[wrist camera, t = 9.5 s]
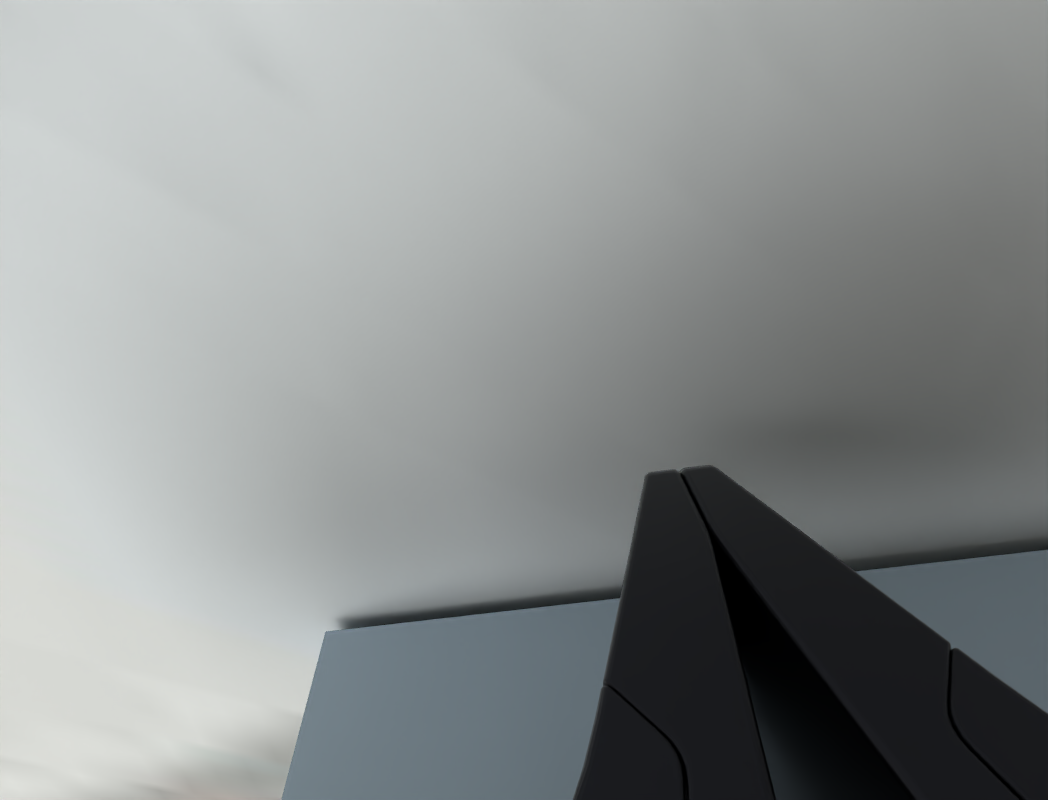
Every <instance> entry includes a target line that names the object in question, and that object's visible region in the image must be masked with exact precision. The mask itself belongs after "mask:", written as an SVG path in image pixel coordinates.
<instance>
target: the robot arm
mask: <svg viewBox="0 0 1048 800" xmlns="http://www.w3.org/2000/svg"><path fill="white" fill-rule="evenodd" d="M573 800H1048V713H1047V712H1045V711H1044V710H1042V709H1041V708H1040V707H1038V706H1037V705H1036V704H1034V703H1033V702H1031V701H1030V700H1029V699H1027V698H1026V697H1024V696H1023V695H1022V694H1020V693H1019V692H1017V691H1016V690H1015V689H1013V688H1012V687H1010V686H1009V685H1008V684H1006V683H1005V682H1003V681H1002V680H1001V679H999V678H998V677H996V676H995V675H994V674H992V673H991V672H990V671H988V670H987V669H986V668H984V667H983V666H982V665H980V664H979V663H978V662H976V661H975V660H974V659H972V658H971V657H970V656H968V655H967V654H965V653H964V652H963V651H961V650H960V649H959V648H952V649H951V644H950V642H949V641H948V640H946V639H945V638H944V637H942V636H941V635H940V634H938V633H937V632H936V631H934V630H933V629H932V628H930V627H929V626H928V625H926V624H925V623H924V622H922V621H921V620H920V619H918V618H917V617H916V616H914V615H913V614H911V613H910V612H909V611H907V610H906V609H905V608H903V607H902V606H901V605H899V604H898V603H897V602H895V601H894V600H893V599H891V598H890V597H889V596H887V595H886V594H885V593H883V592H882V591H881V590H879V589H878V588H877V587H875V586H874V585H873V584H871V583H870V582H869V581H867V580H866V579H865V578H863V577H862V576H861V575H859V574H858V573H857V572H855V571H854V570H853V569H851V568H850V567H849V566H847V565H846V564H845V563H843V562H842V561H841V560H839V559H838V558H837V557H835V556H834V555H833V554H831V553H830V552H829V551H827V550H826V549H825V548H823V547H822V546H820V545H819V544H818V543H816V542H815V541H814V540H812V539H811V538H810V537H808V536H807V535H806V534H804V533H803V532H802V531H800V530H799V529H798V528H796V527H795V526H794V525H792V524H791V523H790V522H788V521H787V520H786V519H784V518H783V517H782V516H780V515H779V514H778V513H776V512H775V511H774V510H772V509H771V508H770V507H768V506H767V505H766V504H764V503H763V502H762V501H760V500H759V499H758V498H756V497H755V496H754V495H752V494H751V493H750V492H748V491H747V490H746V489H744V488H743V487H742V486H740V485H739V484H738V483H736V482H735V481H734V480H732V479H731V478H730V477H728V476H727V475H725V474H724V473H723V472H721V471H720V470H719V469H717V468H716V467H714V466H711V465H705V466H697V467H688V468H683V469H682V470H681V471H680V473H679V471H677V470H674V469H672V470H663V471H655V472H649V473H647V474H646V476H645V479H644V484H643V489H642V494H641V499H640V504H639V508H638V513H637V518H636V523H635V528H634V533H633V538H632V542H631V547H630V552H629V557H628V562H627V567H626V572H625V577H624V581H623V586H622V591H621V596H620V601H619V606H618V611H617V615H616V620H615V625H614V630H613V635H612V640H611V645H610V649H609V654H608V659H607V664H606V669H605V674H604V679H603V687H602V688H601V691H600V696H599V701H598V706H597V711H596V715H595V720H594V724H593V728H592V732H591V736H590V740H589V744H588V749H587V753H586V757H585V761H584V765H583V768H582V772H581V775H580V778H579V781H578V784H577V787H576V790H575V794H574V797H573Z"/></svg>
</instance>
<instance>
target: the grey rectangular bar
mask: <svg viewBox="0 0 1048 800" xmlns="http://www.w3.org/2000/svg"><path fill="white" fill-rule="evenodd" d="M855 572H857V573H858V574H859V575H861V576H862V577H863V578H865V579H866V580H867V581H869V582H870V583H871V584H873V585H874V586H875V587H877V588H878V589H879V590H881V591H882V592H883V593H885V594H886V595H887V596H889V597H890V598H891V599H893V600H894V601H895V602H897V603H898V604H899V605H901V606H902V607H903V608H905V609H906V610H907V611H909V612H910V613H911V614H913V615H914V616H916V617H917V618H918V619H920V620H921V621H922V622H924V623H925V624H926V625H928V626H929V627H930V628H932V629H933V630H934V631H936V632H937V633H938V634H940V635H941V636H942V637H944V638H945V639H946V640H948V641H949V642H950V644H951V649H952V648H959V649H960V650H961V651H963V652H964V653H965V654H967V655H968V656H970V657H971V658H972V659H974V660H975V661H976V662H978V663H979V664H980V665H982V666H983V667H984V668H986V669H987V670H988V671H990V672H991V673H992V674H994V675H995V676H996V677H998V678H999V679H1001V680H1002V681H1003V682H1005V683H1006V684H1008V685H1009V686H1010V687H1012V688H1013V689H1015V690H1016V691H1017V692H1019V693H1020V694H1022V695H1023V696H1024V697H1026V698H1027V699H1029V700H1030V701H1031V702H1033V703H1034V704H1036V705H1037V706H1038V707H1040V708H1041V709H1042V710H1044V711H1045V712H1047V713H1048V550H1040V551H1032V552H1023V553H1014V554H1005V555H996V556H987V557H979V558H970V559H961V560H952V561H943V562H935V563H926V564H917V565H908V566H899V567H891V568H882V569H873V570H864V571H855ZM619 601H620V598H617V599H608V600H600V601H591V602H582V603H573V604H564V605H556V606H547V607H538V608H529V609H520V610H512V611H503V612H494V613H485V614H476V615H467V616H459V617H450V618H441V619H432V620H423V621H415V622H406V623H397V624H388V625H379V626H371V627H362V628H353V629H344V630H335V631H326V632H325V636H324V640H323V643H322V647H321V651H320V655H319V659H318V662H317V666H316V670H315V674H314V678H313V682H312V685H311V689H310V693H309V697H308V701H307V704H306V708H305V712H304V716H303V720H302V723H301V727H300V731H299V735H298V739H297V742H296V746H295V750H294V754H293V758H292V762H291V765H290V769H289V773H288V777H287V781H286V784H285V788H284V792H283V796H282V800H573V797H574V794H575V790H576V787H577V784H578V781H579V778H580V775H581V772H582V768H583V765H584V761H585V757H586V753H587V749H588V744H589V740H590V736H591V732H592V728H593V724H594V720H595V715H596V711H597V706H598V701H599V696H600V691H601V688H602V687H603V679H604V674H605V669H606V664H607V659H608V654H609V649H610V645H611V640H612V635H613V630H614V625H615V620H616V615H617V611H618V606H619Z"/></svg>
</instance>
